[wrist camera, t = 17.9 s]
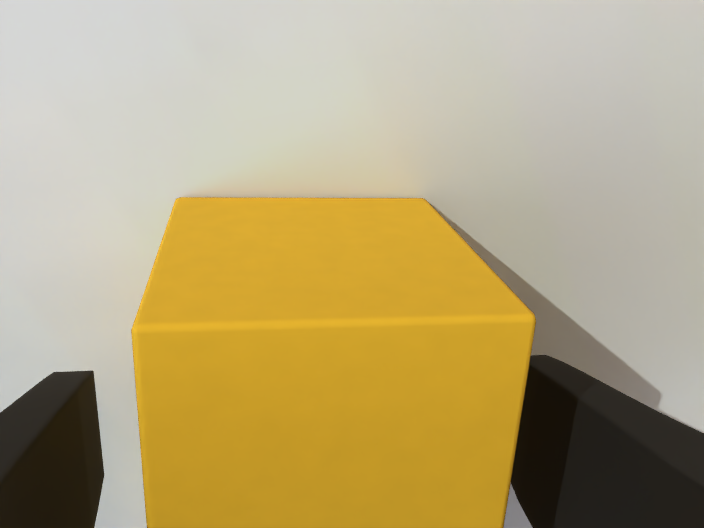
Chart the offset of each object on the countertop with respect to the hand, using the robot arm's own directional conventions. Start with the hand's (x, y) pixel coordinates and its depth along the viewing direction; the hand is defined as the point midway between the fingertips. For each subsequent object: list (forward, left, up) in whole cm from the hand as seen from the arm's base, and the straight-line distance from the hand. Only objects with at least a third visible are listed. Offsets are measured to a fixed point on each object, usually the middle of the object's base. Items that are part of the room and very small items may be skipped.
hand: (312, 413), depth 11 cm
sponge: (0, 0, -2) cm, 2 cm away
